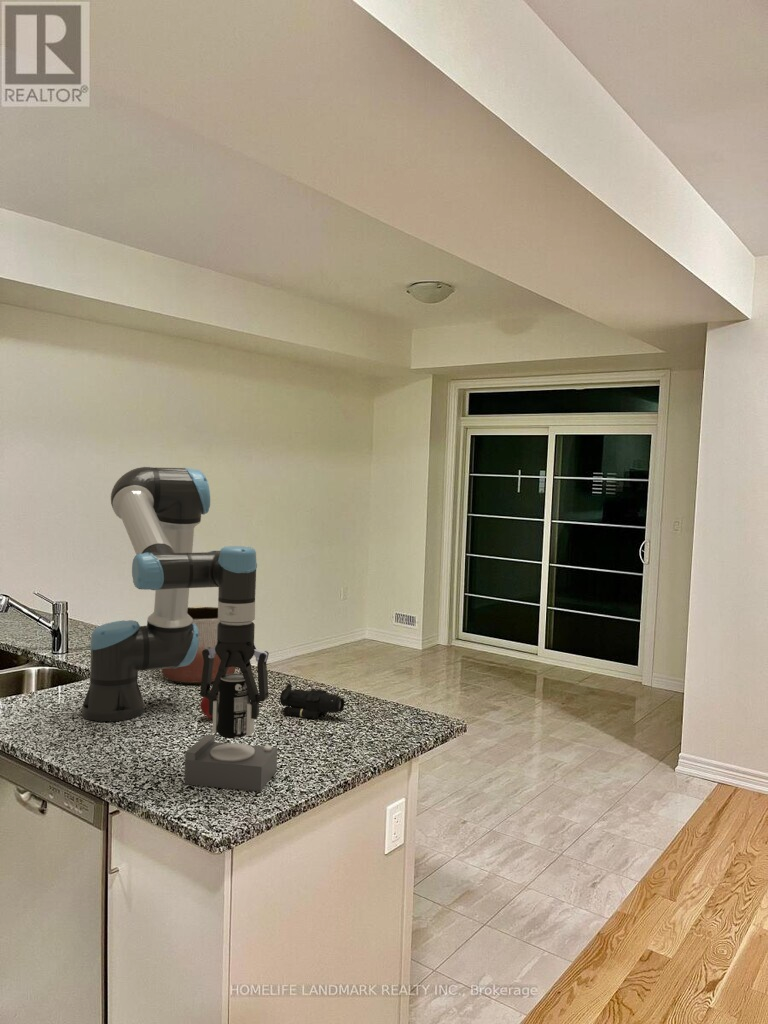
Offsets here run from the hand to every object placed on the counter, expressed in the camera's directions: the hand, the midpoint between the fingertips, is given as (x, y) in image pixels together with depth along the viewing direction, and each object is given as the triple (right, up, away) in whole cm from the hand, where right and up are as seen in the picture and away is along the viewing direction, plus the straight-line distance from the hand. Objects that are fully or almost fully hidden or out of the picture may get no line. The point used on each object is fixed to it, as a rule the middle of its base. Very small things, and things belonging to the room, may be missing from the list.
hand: (233, 731), depth 156 cm
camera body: (0, -10, 0) cm, 10 cm away
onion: (-13, -8, +38) cm, 41 cm away
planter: (-26, -6, +78) cm, 83 cm away
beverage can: (0, -1, 0) cm, 1 cm away
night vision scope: (+12, -9, +44) cm, 46 cm away
